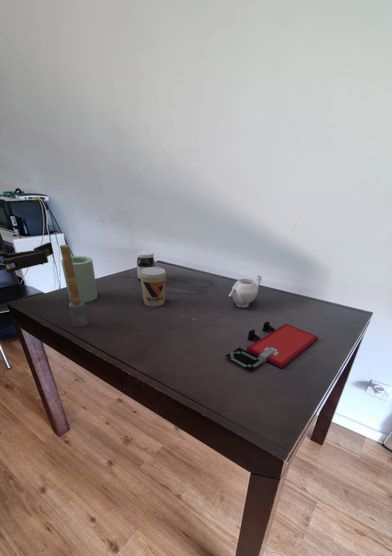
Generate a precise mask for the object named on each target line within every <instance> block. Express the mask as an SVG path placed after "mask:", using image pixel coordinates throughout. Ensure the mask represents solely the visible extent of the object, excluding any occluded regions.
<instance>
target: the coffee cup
mask: <svg viewBox="0 0 392 556" xmlns="http://www.w3.org/2000/svg"><path fill="white" fill-rule="evenodd" d="M158 267H159V266H158ZM158 267H157V266H155V267H147V268H143V269H141V271H140V277H141V281H140V283H141V284H140V285H141V292H142V293H141V294H142V300H143V303H144V305H146V306H148V307H160V306H162V305H164V304H165V302H166V301H165V299H166V283H167V282H166V281H167V280H166V279H167V272H166V269H164V268H163V267H160V268H158Z"/></svg>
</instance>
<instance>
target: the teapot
mask: <svg viewBox="0 0 392 556" xmlns="http://www.w3.org/2000/svg"><path fill="white" fill-rule="evenodd" d="M261 281H262V276H261V275H256V277H255V279H254V280H252V279H249V278H240V279H238V280H236V281H235V282H234V284H233V285H232V287H231V291H230V292H229V294H228V297H232V301H233V303H234V304H235V305H236V306H237V307H239V308H248V307H249V306H250V304H251V303H252V302H253V301H255V299H256V297H257V296H258V295H259V287H260V284H261Z"/></svg>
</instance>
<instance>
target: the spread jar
mask: <svg viewBox="0 0 392 556" xmlns="http://www.w3.org/2000/svg"><path fill="white" fill-rule="evenodd" d="M147 267H158V268H161V267H160V266H158V265H157V266H156V259H155V255H154V252H153V251H151V250H140V251H138V252H137V259H136V270H137V279H138V280H139V281H140V282H141V277H140V271H141V269H143V268H147Z"/></svg>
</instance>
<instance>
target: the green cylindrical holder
mask: <svg viewBox="0 0 392 556" xmlns="http://www.w3.org/2000/svg"><path fill="white" fill-rule="evenodd" d="M60 262H61V266H62V267H61V268H62V272H63V276H64V281H65V284H66V291H67V295H68V299H69V301H71V297H70V292H69V287H68V282H67V278H66V273H65V268H64V263H63V259H62V258H61V260H60ZM72 262H73V267H74V272H75V277H76V282H77V288H78V293H79V298H80V301H82V302H84V303H89V302H92V301H94V300H96V299H98V297H99V296H98V295H99V294H98V289H97V283H96V277H95V269H94V261H93V259H92V258H91V257H90V256H83V255H82V256H81V255H80V256H79V255H76V256H75V255H74V256H72Z"/></svg>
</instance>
